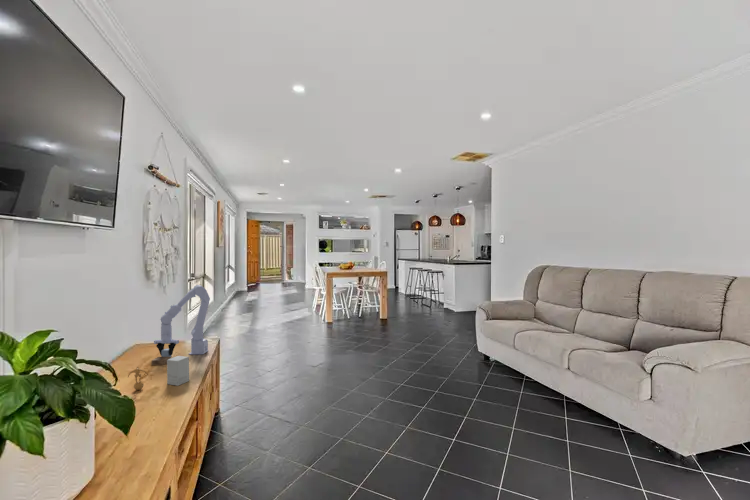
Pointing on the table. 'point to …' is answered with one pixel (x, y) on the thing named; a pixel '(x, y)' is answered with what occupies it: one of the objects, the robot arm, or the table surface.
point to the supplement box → (177, 370)
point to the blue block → (165, 353)
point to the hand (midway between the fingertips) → (166, 355)
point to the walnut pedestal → (160, 360)
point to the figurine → (139, 384)
